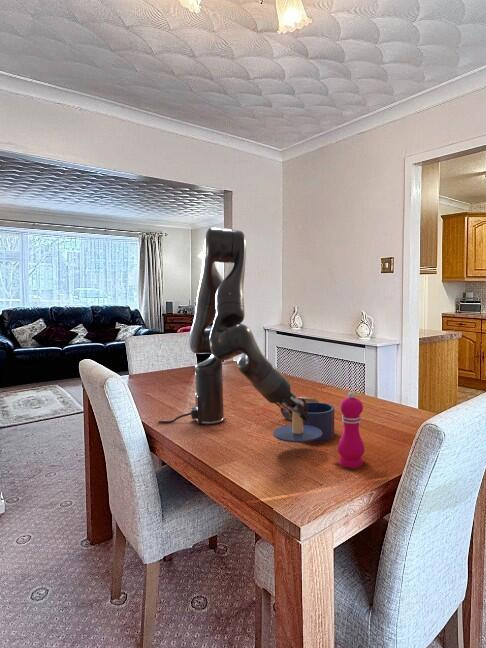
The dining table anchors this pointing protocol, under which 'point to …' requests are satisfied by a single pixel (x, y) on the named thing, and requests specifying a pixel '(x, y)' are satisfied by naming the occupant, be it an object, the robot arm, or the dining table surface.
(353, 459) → the pepper mill
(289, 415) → the tin
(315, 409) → the can
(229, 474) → the dining table surface
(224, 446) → the dining table surface
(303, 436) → the lid
